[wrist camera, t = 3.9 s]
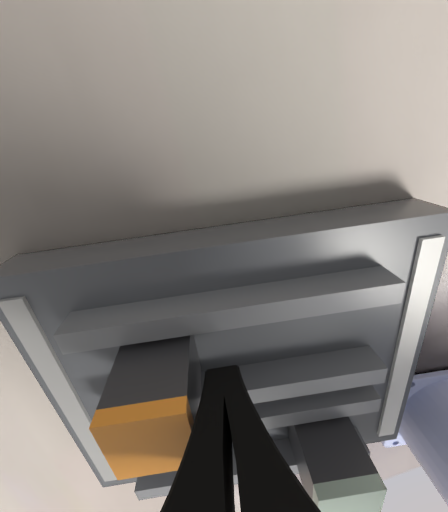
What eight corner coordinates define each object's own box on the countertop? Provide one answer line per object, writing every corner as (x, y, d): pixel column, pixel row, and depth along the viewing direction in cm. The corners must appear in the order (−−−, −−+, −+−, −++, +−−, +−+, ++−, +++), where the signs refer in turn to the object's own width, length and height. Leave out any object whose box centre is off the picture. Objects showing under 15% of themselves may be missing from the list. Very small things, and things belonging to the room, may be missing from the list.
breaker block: (414, 198, 13) (612, 256, 7) (374, 404, 20) (454, 529, 14) (15, 254, 13) (-168, 373, 6) (114, 446, 20) (73, 596, 13)
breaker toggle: (190, 321, 12) (185, 413, 8) (200, 367, 13) (201, 466, 9) (125, 331, 12) (88, 428, 8) (142, 376, 13) (117, 480, 9)
